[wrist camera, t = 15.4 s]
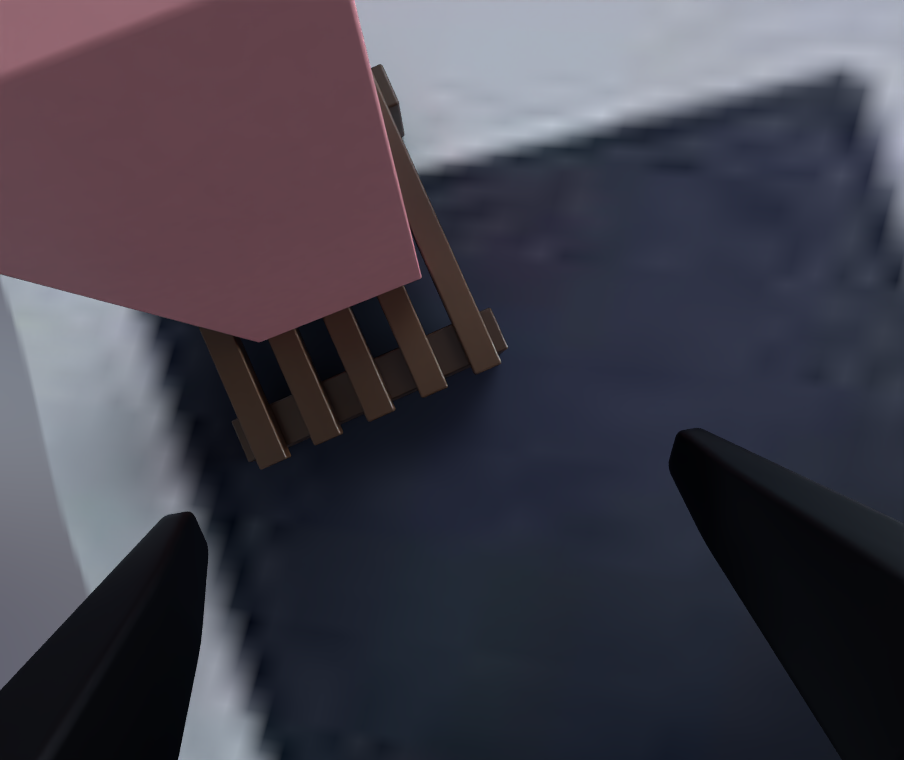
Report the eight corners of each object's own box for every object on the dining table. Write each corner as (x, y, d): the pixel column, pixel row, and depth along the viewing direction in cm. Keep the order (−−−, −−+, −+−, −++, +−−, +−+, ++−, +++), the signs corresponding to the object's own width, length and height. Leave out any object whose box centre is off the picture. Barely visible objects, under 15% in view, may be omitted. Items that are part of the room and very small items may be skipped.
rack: (505, 362, 20) (515, 357, 17) (276, 464, 20) (245, 476, 17) (385, 91, 21) (374, 40, 18) (157, 190, 21) (107, 155, 18)
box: (422, 278, 17) (342, -53, 4) (258, 343, 17) (-305, 197, 4) (347, 90, 18) (60, -754, 5) (184, 154, 18) (-571, -524, 5)
